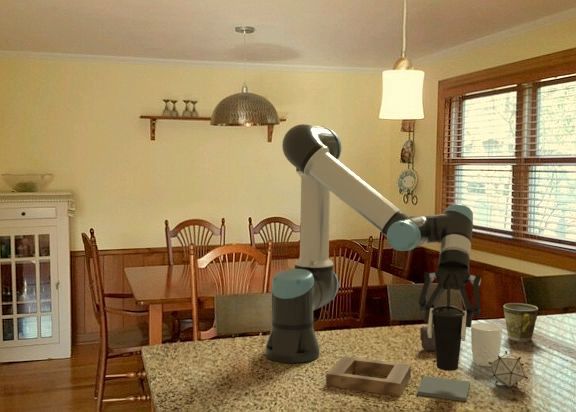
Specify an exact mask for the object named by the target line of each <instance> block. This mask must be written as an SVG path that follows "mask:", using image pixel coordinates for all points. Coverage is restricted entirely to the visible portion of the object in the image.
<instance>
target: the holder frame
mask: <svg viewBox="0 0 576 412" xmlns="http://www.w3.org/2000/svg"><path fill="white" fill-rule="evenodd" d="M354 372H356V373H362V374H369V375H370V374H372V375H379V376H387V377H386V378H380V377H374V376H373V377H372V376H365V375H358V374H354ZM411 375H412V364H407V363H398V362H391V361H382V360H373V359H366V358H365V359H364V358H358V357H350V356H341V357H340V358H339V360H338V361H337V362H335V363H334V365H333V366H331V368H330V369H328V371H327V372H326V373H325V386H327V387H331V386H332V387H333V388H338V387H339V388H338V389H345V388H346V389H347V390H353V391H360V392H366V391H367V392H368V393H375V394H382V395H386V396H387V395H388V396H395V397H401V395H402V393H403V392H404V390H405V388H406V386H407V384H408V382H409V381H410V379H411V377H412V376H411Z"/></svg>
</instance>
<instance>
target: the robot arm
mask: <svg viewBox="0 0 576 412" xmlns="http://www.w3.org/2000/svg"><path fill="white" fill-rule="evenodd" d="M281 146H282V153H283V156H284V157H285V158H286V160H287V161H288V162H289V163H290V164H291V165H292V166H294V167H295V170H296V171H295V172H296V173H297V174H298V176H300V182H301V183H300V229H299V230H300V233H299V235H300V236H299V237H300V240H299V241H300V242H299V244H300V245H299V258H298V259H297V260H296V261H295V262H294V268H289V269H285V270H281V271H279V272H276V273H275V274H274V275H273V276H272V279H271V280H272V281H271V289H270V291H271V329H270V333H269V335H268V338H267V341H266V346H265V356H266V357H267V358H268V359H269V360H272V361H274V362H278V363H284V364H285V363H286V364H301V363H308V362H312V361H315V360H317V359H318V358H319V356H320V344H319V342H318V340H317V336H316V333H315V329H314V311H316V310H318V309H319V308H321V307H325V306H327V305H328V304H330V302H331V301H333V300H334V299H335V297H336V296H337V294H338V291H339V285H340V284H339V282H340V281H339V279H338V276H337V274H336V273H335V271H334V265H335V264H334V262H333V261H332V260H331V259H330V257H329V255H330V253H329V251H330V197H331V196H330V195H331V193H332V194H334V195H335V196H337V198H339V200H341V201H343V202H344V203H345V204H346V205H347V206H348V207H349V208H351V209H352V210H353V211H354V212H356V213H357V214H358V215H359V216H360V217H362V218H363V219H364V220H366V221H367V222H368V223H369V224H371V225H372V226H373V227H374V228H375V229H376V230H378V231H379V232H380V233H381V234H383V236H385V237H386V240H387V243H388V244H389V246H390V247H391V248H392V249H394V250H396V251H397V252H398V251H400V252H405V251H411V250H414V249H415V248H417V247H419V246H422V245H425V244H436V243H437V244H438V243H440V248H439V256H438V265H437V269H436V271H435V272H429V271H424V273H423V274H424V282H423V285H422V289H421V292H420V296H419V300H418V307H419V310H420V311H424V324H426V325H427V327H428V329H427V334H428V338H432V330H433V327H434V322H433V313H432V310H433V309H434V308H436V305H437V304H438V301H439V300H440V298H441V297H442V295H443V294H444V293H445V291H446V290H447V284H450V290H455V291H458V293H459V295H460V298H461V301H462V305H463V306H464V309H465V310H463V312H465V315H464V316H463V319H462V330H461V342H466V334H467V328H470V329H471V325H472V323H473V316H475V315H477V316H479V315H481V301H480V287H481V284H482V278H481V277H482V276H481V275H480V274H476V275H472V274H471V273H470V263H471V262H470V261H471V259H470V258H471V251H472V236H473V228H474V212H473V210H471V207H469V206H467V205H464V204H461V203H454V204H451V205H449V206H447V207H446V208H445V211H444V212H443V213H440V214H439V213H438V214H430V215H415V216H414V215H411V216H408V215H407V214H405V212H403V211H402V210H401V209H399V208H398V207H397V206H396V205H394V204H393V203H392V202H391V201H389V200H388V199H387V198H386V197H384V196H383V195H382V194H381V193H380V192H378V191H377V190H375V188H373V187H372V185H371V186H370V185H369V184H368V183H367V182H366V181H364V180H363V179H362V178H361V177H360V176H358V175H357V174H355V173H354V172H353V171H352V170H350V169H349V167H347V166H345V165H344V164H343V163H342V162H341V161H339V158H340V157H341V154H342V142H341V140H340V137H339V136H338V134H337V133H336V132H335V131H334V130H332V129H330V128H328V127H327V126H324V125H323V126H322V125H311V124H305V123H302V124H297V125H294V126H292V127H291V128H290V129H289V130H287V131H286V133H285V134H284V136H283V139H282V145H281ZM330 192H331V193H330ZM435 279H436V281H438V283H437V285H436V287H435V289H434V291H433V292H432V294H431V296H430V298H429V299H428V297H429V295H430V290H431V287H432V285H431V284H432V283H433V282H434V280H435ZM469 281H470V284H471V285H472V286H473V300H474V306H472V305H471V301H470V299H469V297H468V294H467V291H466V288H465V285H466V284H468V282H469Z"/></svg>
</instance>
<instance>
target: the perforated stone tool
mask: <svg viewBox="0 0 576 412" xmlns="http://www.w3.org/2000/svg"><path fill="white" fill-rule="evenodd" d="M419 329H420V330H419V331H420V336H419V339H420V341H421V347H422V349H423V350H424V351H427V352H428V351H429V352H436V348H435V335H434V326H433V330H432V338H428V334H427V329H428V326H423V327H420V328H419Z"/></svg>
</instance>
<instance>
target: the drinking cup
mask: <svg viewBox="0 0 576 412" xmlns="http://www.w3.org/2000/svg"><path fill="white" fill-rule="evenodd" d="M463 311H464V309H461V308H459V307H457V306H455V305H451V289H450V284H447V289H446V304H445V305H440V306H439V305H438V306H437V307H434V309H433V310H432V313H433V327H434V335H435V348H436V351H435V359H436V368H438V369H439V370H442V371H446V372H447V371H448V372H451V371H452V372H453V371H454V372H455V371H457V370H458V369H459V362H460V353H461V351H460V350H461V346H462V345H461V343H462V339H461V330H462V319H463V316H464V315H465V312H463Z"/></svg>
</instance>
